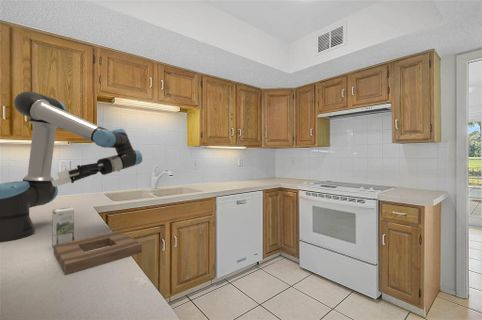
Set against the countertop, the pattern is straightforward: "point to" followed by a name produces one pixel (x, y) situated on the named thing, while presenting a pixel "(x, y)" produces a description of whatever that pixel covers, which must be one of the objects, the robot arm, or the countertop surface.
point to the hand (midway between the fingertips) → (55, 180)
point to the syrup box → (62, 225)
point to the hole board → (95, 251)
